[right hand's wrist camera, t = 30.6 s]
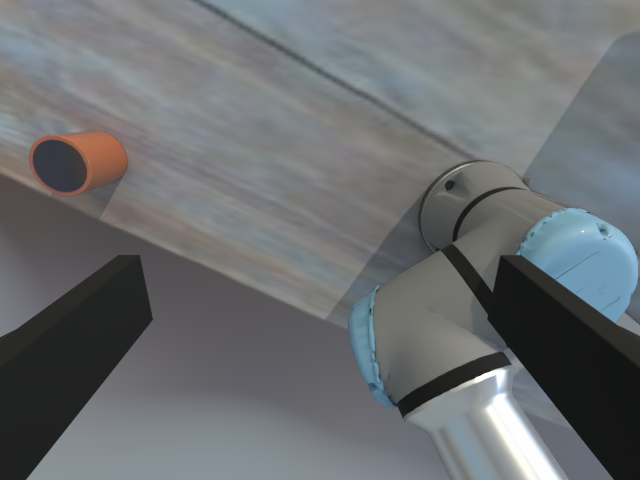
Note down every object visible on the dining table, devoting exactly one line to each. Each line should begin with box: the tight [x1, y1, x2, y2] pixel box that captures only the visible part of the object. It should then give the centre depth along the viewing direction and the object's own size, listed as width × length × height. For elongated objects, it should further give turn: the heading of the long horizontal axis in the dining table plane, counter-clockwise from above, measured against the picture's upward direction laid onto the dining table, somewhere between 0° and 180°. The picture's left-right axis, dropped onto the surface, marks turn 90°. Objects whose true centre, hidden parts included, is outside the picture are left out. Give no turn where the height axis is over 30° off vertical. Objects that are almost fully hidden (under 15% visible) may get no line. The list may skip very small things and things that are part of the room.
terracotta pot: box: [29, 131, 127, 196], centre depth 43 cm, size 7×7×8 cm
